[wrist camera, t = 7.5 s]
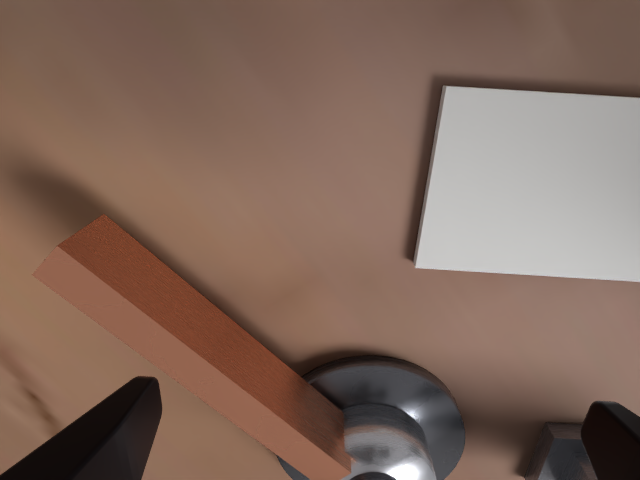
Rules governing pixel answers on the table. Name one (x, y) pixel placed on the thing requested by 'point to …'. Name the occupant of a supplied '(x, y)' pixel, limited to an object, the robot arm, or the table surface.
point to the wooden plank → (228, 362)
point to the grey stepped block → (560, 455)
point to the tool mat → (533, 185)
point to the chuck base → (394, 401)
